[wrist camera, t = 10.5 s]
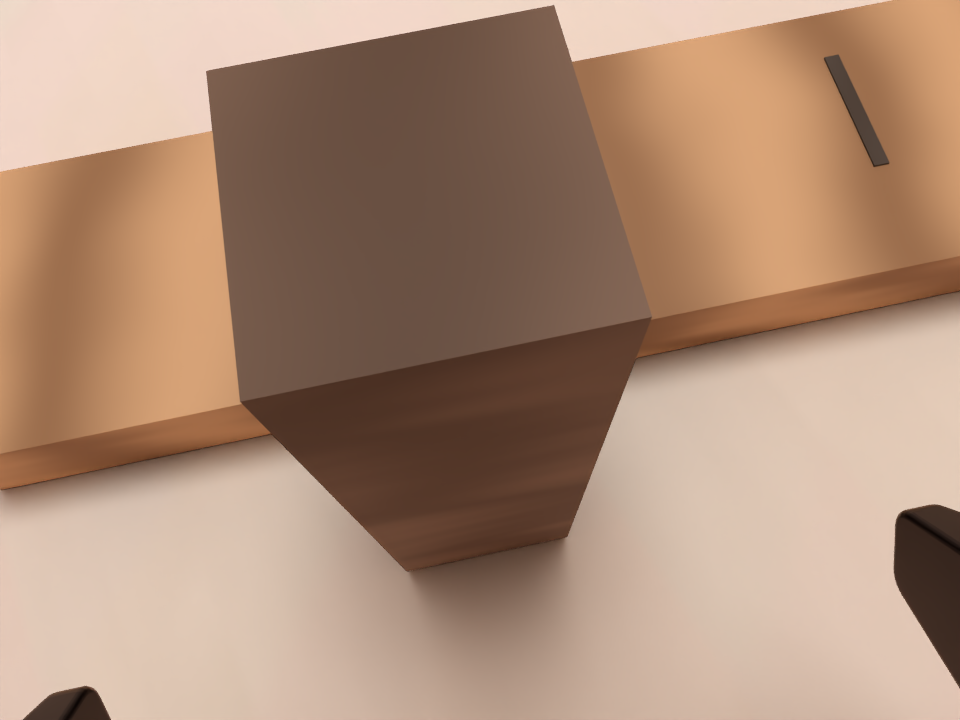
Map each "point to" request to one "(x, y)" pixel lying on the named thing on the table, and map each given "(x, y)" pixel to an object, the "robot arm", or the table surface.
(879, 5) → the oak board
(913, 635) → the table surface
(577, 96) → the brown wooden block
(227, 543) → the table surface
